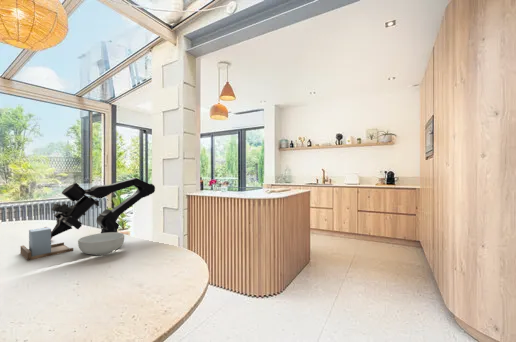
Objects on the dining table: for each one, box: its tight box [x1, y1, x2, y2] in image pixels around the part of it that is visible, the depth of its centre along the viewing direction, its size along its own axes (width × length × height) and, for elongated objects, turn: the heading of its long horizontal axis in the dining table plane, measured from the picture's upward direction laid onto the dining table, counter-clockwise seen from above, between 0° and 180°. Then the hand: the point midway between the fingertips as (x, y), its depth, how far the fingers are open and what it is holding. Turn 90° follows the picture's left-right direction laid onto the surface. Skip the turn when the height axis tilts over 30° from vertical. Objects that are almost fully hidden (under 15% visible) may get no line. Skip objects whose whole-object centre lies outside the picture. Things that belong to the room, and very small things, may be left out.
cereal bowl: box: [77, 231, 125, 257], centre depth 105 cm, size 17×17×7 cm
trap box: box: [20, 242, 74, 261], centre depth 103 cm, size 14×13×4 cm
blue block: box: [28, 226, 52, 256], centre depth 101 cm, size 6×5×10 cm
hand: (50, 236), depth 103 cm, fingers closed, pressing on blue block
